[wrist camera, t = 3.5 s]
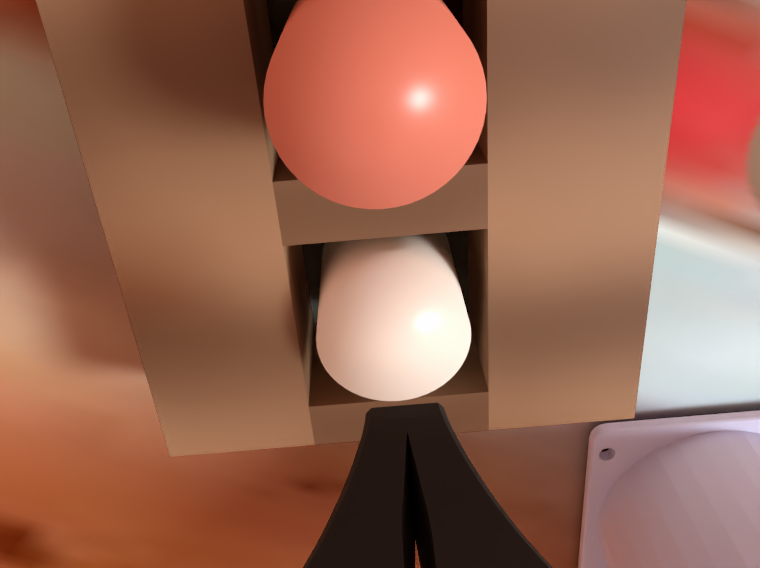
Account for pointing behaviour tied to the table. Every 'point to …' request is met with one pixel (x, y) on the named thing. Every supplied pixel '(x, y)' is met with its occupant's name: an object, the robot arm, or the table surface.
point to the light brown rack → (373, 214)
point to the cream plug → (391, 316)
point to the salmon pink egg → (374, 99)
